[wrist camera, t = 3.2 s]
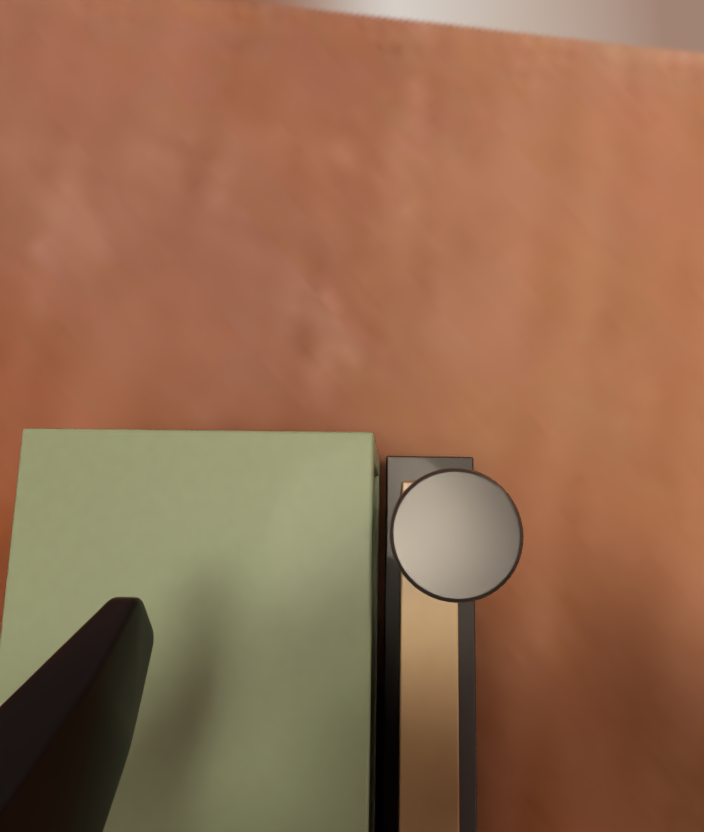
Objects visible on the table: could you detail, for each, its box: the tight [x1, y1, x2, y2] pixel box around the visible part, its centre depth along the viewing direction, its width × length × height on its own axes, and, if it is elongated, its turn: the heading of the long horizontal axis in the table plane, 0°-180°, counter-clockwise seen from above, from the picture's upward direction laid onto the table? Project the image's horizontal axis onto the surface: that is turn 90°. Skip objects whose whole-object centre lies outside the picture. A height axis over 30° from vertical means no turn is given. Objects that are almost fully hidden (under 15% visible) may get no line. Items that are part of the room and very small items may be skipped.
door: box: [389, 468, 523, 832], centre depth 12 cm, size 12×2×10 cm, turn 179°
